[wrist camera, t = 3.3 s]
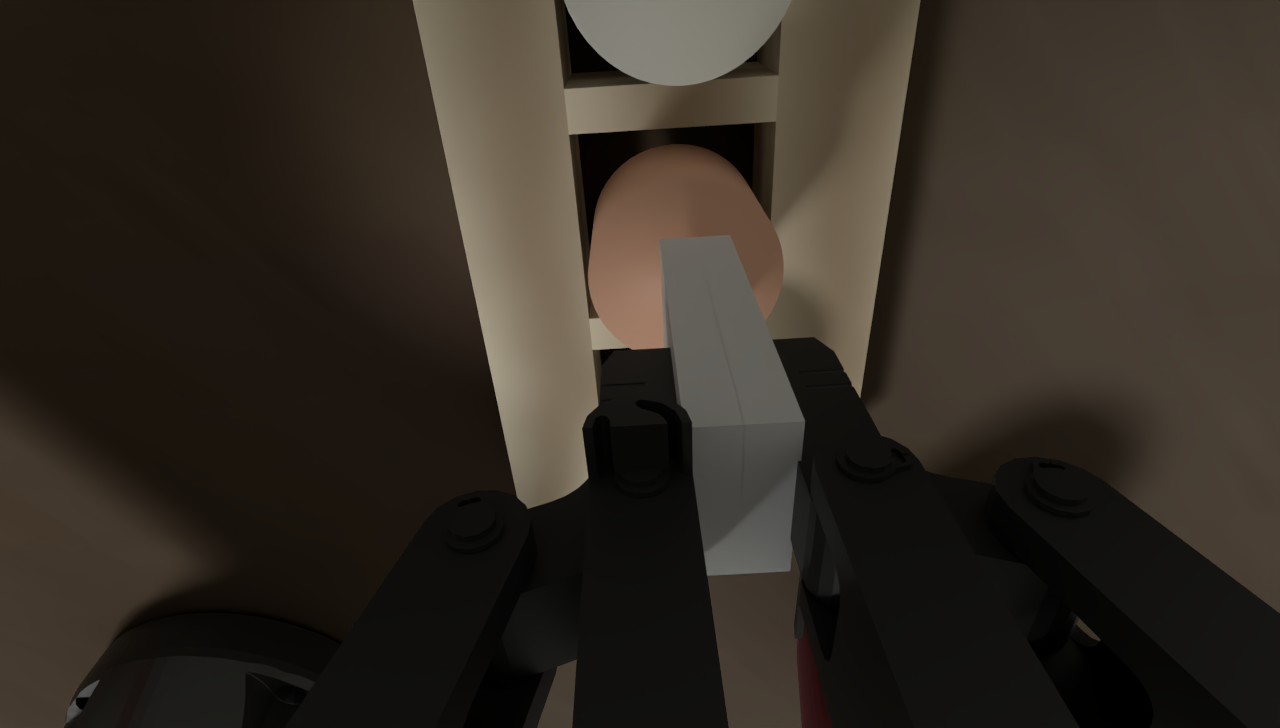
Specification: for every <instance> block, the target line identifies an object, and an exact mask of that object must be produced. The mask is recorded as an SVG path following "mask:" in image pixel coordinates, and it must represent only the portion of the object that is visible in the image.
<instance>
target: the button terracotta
mask: <svg viewBox="0 0 1280 728" xmlns="http://www.w3.org/2000/svg"><path fill="white" fill-rule="evenodd" d="M720 235H730V236H731V238H732V241H733V243H734V246H735V248H736V251H737V253H738V256H739V258H740V261H741V263H742V266H743V268H744V271H745V273H746V276H747V278H748V281H749V283H750V286H751V288H752V291H753V293H754V296H755V298H756V301H757V303H758V305H759V308H760V310H761V313H762V315H763V318H764V320H766V319H767V318H768V316H769V315H770V313H771V311H772V309H773V308H774V306H775V304H776V301H777V299H778V297H779V293H780V290H781V286H782V281H783V274H784V260H783V253H782V247H781V244H780V241H779V237H778V235H777V233H776V231H775V229H774V227H773V225H772V223H771V222H770V220H769V218H768V217H767V215H766V213H765V212H764V210H763V208H762V207H761V205H760V204H759V202H758V200H757V199H756V197H755V195H754V194H753V192H752V190H751V189H750V187H749V185H748V184H747V182H746V181H745V179H744V178H743V176H742V175H741V173H740V172H739V171H738V170H737V169H736V168H735V167H734V166H733V165H732V164H731V163H730V162H729V161H727V160H726V159H725V158H723V157H722V156H720V155H718V154H717V153H715V152H713V151H710V150H708V149H706V148H702V147H699V146H695V145H688V144H669V145H661V146H658V147H654V148H650V149H648V150H646V151H643V152H641V153H639V154H637V155H635V156H634V157H632V158H630V159H629V160H628V161H626V162H625V163H624V164H622V165H621V166H620V167H619V168H618V169H617V170H616V171H615V172H614V173H613V175H612V176H611V177H610V179H609V180H608V181H607V183H606V184H605V186H604V188H603V190H602V191H601V194H600V196H599V199H598V201H597V205H596V209H595V214H594V223H593V232H592V241H591V250H590V259H589V268H588V285H589V291H590V296H591V299H592V302H593V305H594V308H595V310H596V312H597V314H598V316H599V318H600V319H601V321H602V322H603V324H604V325H605V327H606V328H607V329H608V330H609V331H610V332H611V333H612V335H613V336H615V337H616V338H617V339H618V340H619V341H620V342H622V343H623V344H624V345H626V346H627V347H629V348H630V349H632V350H636V349H653V348H664V340H663V316H662V291H661V267H660V243H659V239H670V238H687V237H704V236H720Z"/></svg>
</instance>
